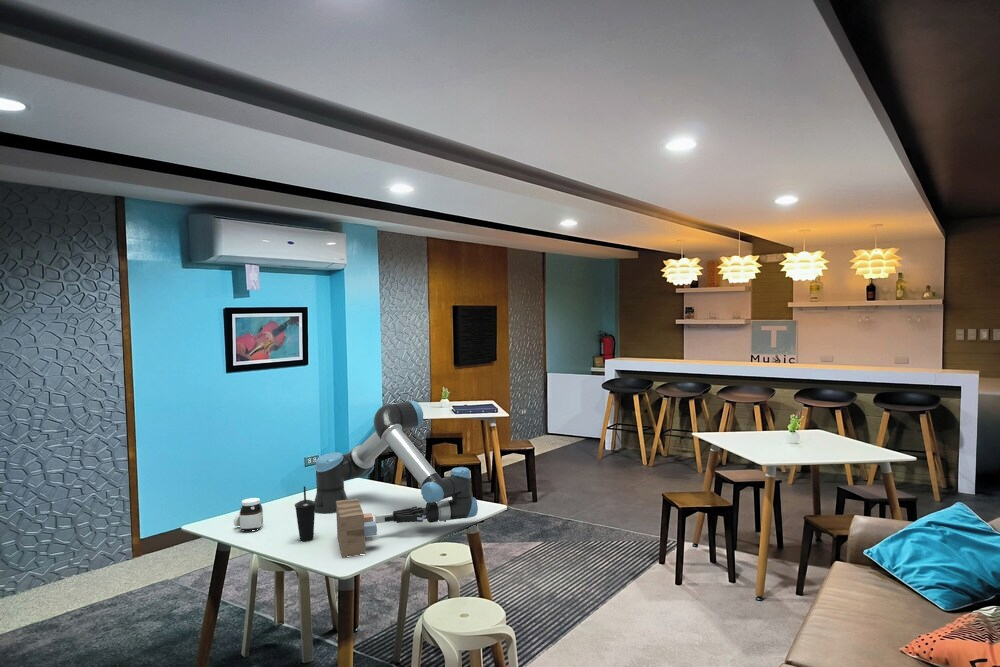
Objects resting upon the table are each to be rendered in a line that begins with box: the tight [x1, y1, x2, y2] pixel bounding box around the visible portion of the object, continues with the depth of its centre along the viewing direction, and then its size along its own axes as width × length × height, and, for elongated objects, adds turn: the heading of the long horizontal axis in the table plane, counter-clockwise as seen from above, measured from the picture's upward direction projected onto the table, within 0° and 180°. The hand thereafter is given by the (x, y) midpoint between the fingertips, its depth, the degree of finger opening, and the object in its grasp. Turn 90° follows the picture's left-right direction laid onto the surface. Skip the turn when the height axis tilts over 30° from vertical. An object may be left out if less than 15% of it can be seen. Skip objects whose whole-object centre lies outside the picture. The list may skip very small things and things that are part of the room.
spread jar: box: [233, 497, 264, 532], centre depth 255 cm, size 12×11×12 cm
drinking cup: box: [294, 485, 316, 543], centre depth 239 cm, size 8×8×20 cm
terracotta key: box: [363, 512, 374, 523], centre depth 237 cm, size 5×6×4 cm
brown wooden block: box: [335, 498, 366, 558], centre depth 230 cm, size 22×8×14 cm, turn 18°
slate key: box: [364, 520, 378, 538], centre depth 227 cm, size 5×6×4 cm
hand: (375, 519), depth 239 cm, fingers closed
